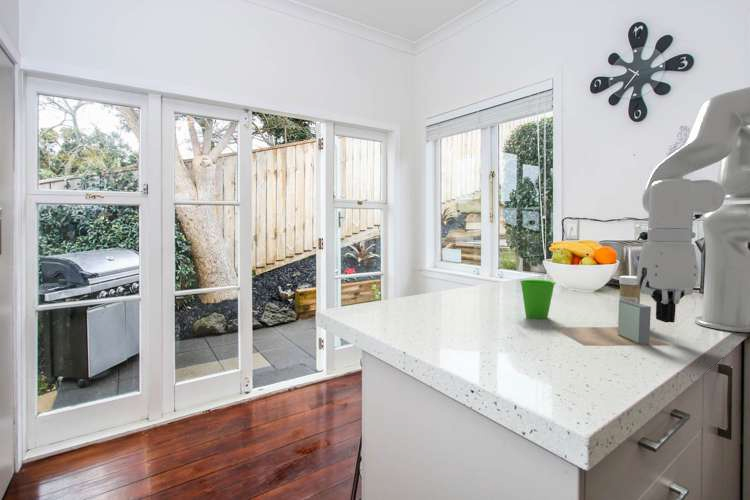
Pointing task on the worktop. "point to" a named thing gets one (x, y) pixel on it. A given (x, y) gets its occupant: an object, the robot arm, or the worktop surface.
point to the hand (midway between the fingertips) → (665, 320)
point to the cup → (537, 297)
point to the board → (600, 336)
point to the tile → (634, 321)
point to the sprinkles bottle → (629, 289)
